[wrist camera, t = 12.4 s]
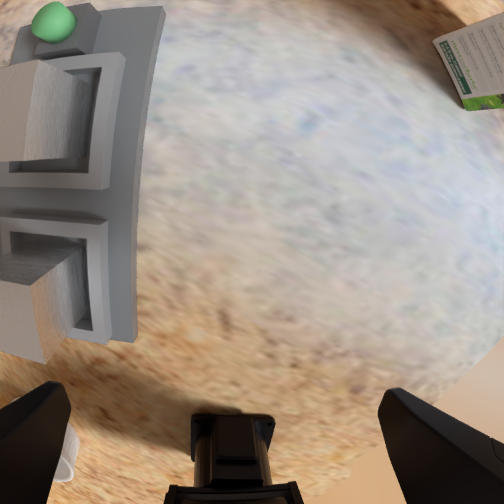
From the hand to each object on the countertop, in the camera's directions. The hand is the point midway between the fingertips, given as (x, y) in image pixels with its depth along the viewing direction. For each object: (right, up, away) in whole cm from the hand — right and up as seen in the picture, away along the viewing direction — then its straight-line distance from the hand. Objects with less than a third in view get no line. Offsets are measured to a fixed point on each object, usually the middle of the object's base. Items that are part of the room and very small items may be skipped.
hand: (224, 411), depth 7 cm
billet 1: (-10, +11, +7) cm, 16 cm away
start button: (-9, +16, +3) cm, 18 cm away
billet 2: (-11, +3, +9) cm, 15 cm away
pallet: (-10, +9, +9) cm, 16 cm away
